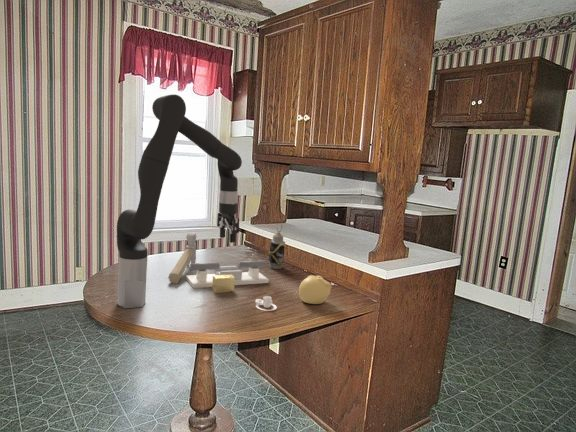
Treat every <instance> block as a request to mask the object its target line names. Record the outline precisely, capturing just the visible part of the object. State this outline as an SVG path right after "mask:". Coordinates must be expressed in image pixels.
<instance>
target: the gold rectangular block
mask: <svg viewBox="0 0 576 432" xmlns="http://www.w3.org/2000/svg"><path fill="white" fill-rule="evenodd" d="M234 284H235V277H234V276H233V275H232V274H231V275H214V276H213V283H212V287H211V288H212V289H211V290H212V292H213V293H215V294H216V293H218V294H219V293H231V292H230V291H232V292H235V285H234Z"/></svg>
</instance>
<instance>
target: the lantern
mask: <svg viewBox="0 0 576 432" xmlns="http://www.w3.org/2000/svg"><path fill="white" fill-rule="evenodd" d="M279 220H280V223H281V225H283V222H282V219H281V218H278V219H277V222H276V224H278V223H279ZM276 230H277V233H275V234H273V235H272V240H270V244H269V250H268V258H267V259H268V267H269V268H270V269H274V270H281V269H282V268H283V265H284V261H285V249H286V248H285V247H286V241H284V235H282V234H281V232H282V230H283V226H281V227H280V231H279V230H278V228H276Z"/></svg>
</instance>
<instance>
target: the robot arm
mask: <svg viewBox="0 0 576 432" xmlns="http://www.w3.org/2000/svg"><path fill="white" fill-rule="evenodd" d="M151 108H152V112H153V116H154V117H155V118H156V119H157V120H159V121H158V125H157V127H156V131H155V132H154V134H153V136H152V137H151V139H150V140H149V142H148V144H147V146H146V147H145V149H144V151H143V153H142V155H141V159H140V161H139V166H138V169H137V178H138V185H139V190H140V196H139V197H140V198H139V202H138V205H137V209H126V210H123V211H122V212H121V213H120V214H119V215H118V217H117V223H116V247H117V250H118V252H119V254H118V279H117V306H119V307H121V308H123V309H133V308H142V307H143V306H145V304H146V297H147V296H146V295H147V294H146V292H147V273H148V272H147V271H148V257H149V256H148V253H149V250H148V248H147V247H146V245H145V244H144V243H143V241H142V240H146V239H147V238H149V236H150V235H151V234H152V233H153V230H154V228H155V223H156V217H157V211H158V207H159V200H160V197H161V193H162V189H163V186H164V182H165V178H166V175H167V173H168V169H169V164H170V161H171V157H172V154H173V150H174V148H175V147H174V146H175V143H176V138H178V137H177V136H178V133H179V134H181V135H183V136H185V137H186V138H187V139H189V140H190V141H191V142H192V143H194V144H195V145H196V146H197V147H198V148H200V150H202V151H203V152H204V153H206V154H207V155H208V156H209V157H211V158H213V159H217V171H218V175H219V179H220V182H219V183H220V185H219V195H218V196H219V197H218V198H219V201H218V202H219V203H218V212H217V220H216V221H217V222H216V227H218V228H219V238H221V239H224V238H226V228H227V229H228V231H229V242H230V243H236V235H237V234H238V233H240V218H239V217H235V216H236V214H237V213H238V207H239V206H238V204H239V203H238V201H239V193H238V192H239V191H238V185H239V183H238V182H239V181H238V177H237V176H236V175H234V171H237V170H239V169H240V168H241V167H242V164H243V163H242V162H243V161H242V158H241V156H240V154H238V152H236V151H235V150H234V149H232V148H231V147H229V146H227V145H226V144H224V143H223V142H221V140H220V139H218V138H217V137H216V136H215V134H213V133H212V132H210V131H209V130H207V129H205V127H202V126H200V125H198V124H197V123H195V122H193V121H192V120H190V119H189V118H188V117H187V116H186V111H187V107H186V102H185V100H184V99H183V97H181V96H180V95H178V94H167V95H163V96H159V97H157V98H156V99H155V100H154V101H153V103H152V107H151Z"/></svg>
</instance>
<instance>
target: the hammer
mask: <svg viewBox="0 0 576 432" xmlns="http://www.w3.org/2000/svg"><path fill="white" fill-rule="evenodd" d="M197 237H198V236H197V234H196V232H193V231H192V232H191V231H190V232H187V234H186V241H187V245H186V246H185V250H184V251H183V253H182V255H181V256H180V257H179V259H178V260H177V262H176V264H175V266H174V267H173V268H172V269H171V271H170V273H169V275H168V280H169V282H170V283H172V284H178V283H179V282H180V279H181V277H182V275H183V274H184V273H185V270H186V268H187V267H190V264H192V263H197V261H196V260H197V244H196V239H197Z"/></svg>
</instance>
